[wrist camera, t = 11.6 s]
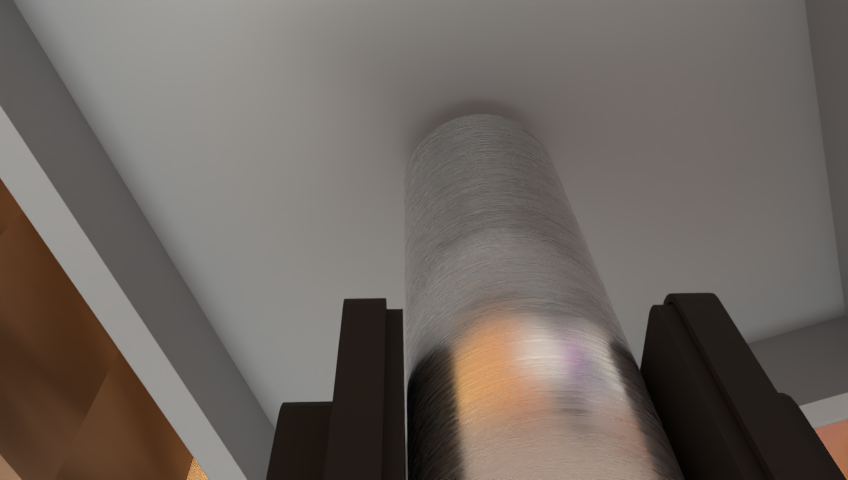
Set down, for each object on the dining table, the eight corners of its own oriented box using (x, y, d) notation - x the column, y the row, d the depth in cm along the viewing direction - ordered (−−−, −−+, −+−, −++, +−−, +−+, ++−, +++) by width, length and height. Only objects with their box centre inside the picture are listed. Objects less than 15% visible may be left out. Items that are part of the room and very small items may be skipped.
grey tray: (869, 316, 20) (938, 394, 18) (290, 486, 23) (276, 576, 20) (783, -453, 13) (880, -515, 10) (-66, -82, 15) (-162, -57, 13)
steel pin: (613, 241, 17) (1150, 1369, 5) (414, 305, 17) (449, 1437, 5) (556, 44, 15) (1248, 1151, 3) (333, 125, 15) (98, 1311, 3)
